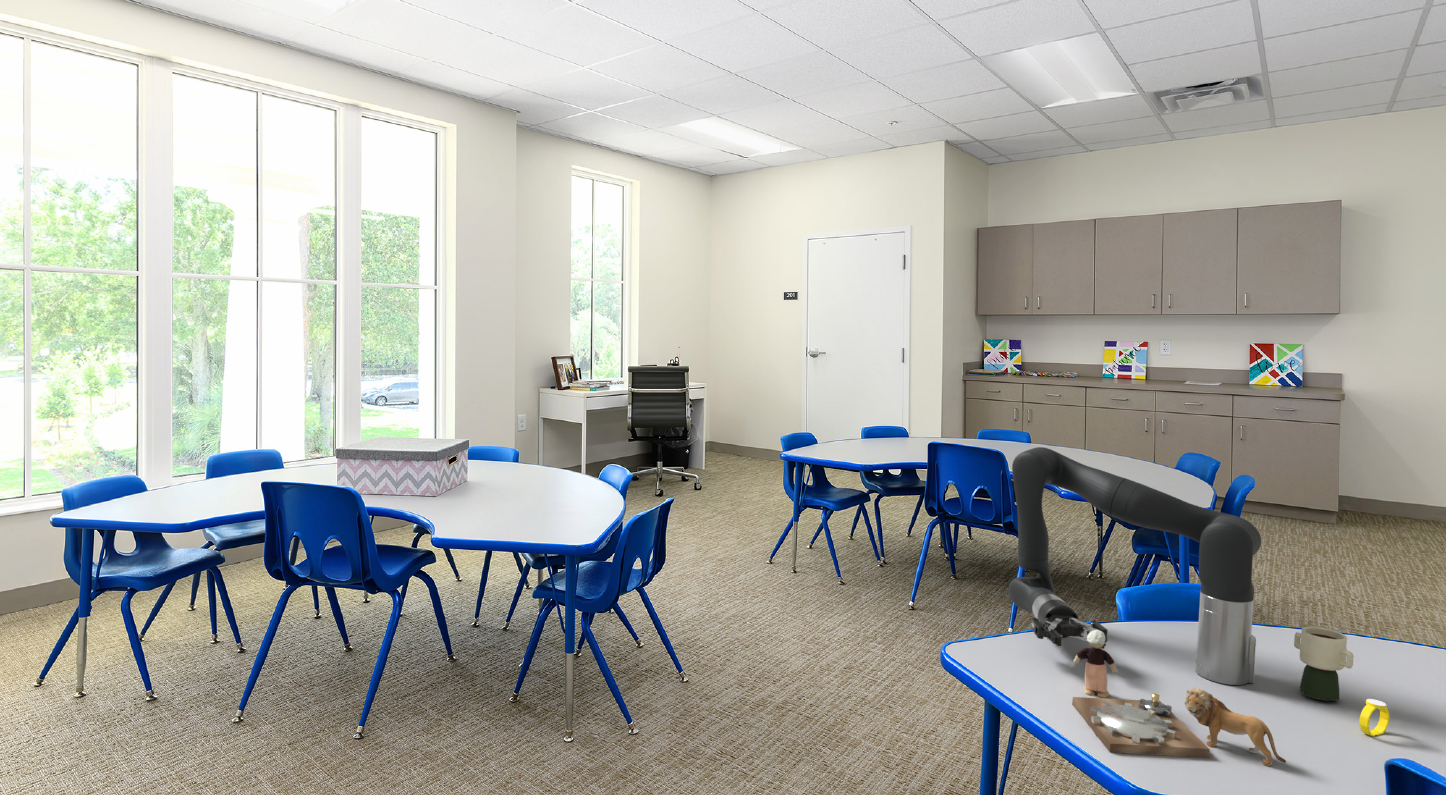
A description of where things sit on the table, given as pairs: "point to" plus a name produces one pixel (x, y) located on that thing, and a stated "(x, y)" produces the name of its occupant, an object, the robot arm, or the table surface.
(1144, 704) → the gear
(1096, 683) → the grandmother figurine
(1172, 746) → the gear board
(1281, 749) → the table surface
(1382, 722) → the watch
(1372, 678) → the table surface
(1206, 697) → the lion figurine
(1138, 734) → the gear
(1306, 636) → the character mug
